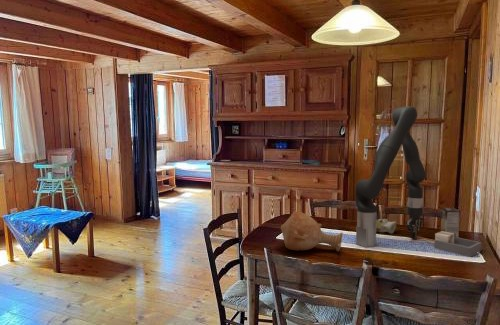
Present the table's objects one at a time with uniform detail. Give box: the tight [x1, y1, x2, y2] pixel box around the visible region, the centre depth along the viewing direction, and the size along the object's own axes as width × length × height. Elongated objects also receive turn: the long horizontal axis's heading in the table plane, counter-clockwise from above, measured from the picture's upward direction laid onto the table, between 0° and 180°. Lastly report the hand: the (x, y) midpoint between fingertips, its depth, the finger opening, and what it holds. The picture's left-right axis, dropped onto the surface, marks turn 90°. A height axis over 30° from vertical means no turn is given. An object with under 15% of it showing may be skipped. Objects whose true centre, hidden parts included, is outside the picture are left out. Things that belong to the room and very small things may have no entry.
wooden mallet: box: [414, 227, 454, 244], centre depth 187 cm, size 7×20×6 cm, turn 37°
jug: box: [280, 210, 344, 253], centre depth 180 cm, size 20×19×30 cm
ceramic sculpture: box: [376, 217, 397, 234], centre depth 207 cm, size 11×9×15 cm
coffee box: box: [440, 206, 460, 238], centre depth 192 cm, size 9×6×16 cm
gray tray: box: [433, 236, 483, 258], centre depth 176 cm, size 13×16×4 cm
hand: (414, 237), depth 194 cm, fingers closed on wooden mallet, 2 cm apart
